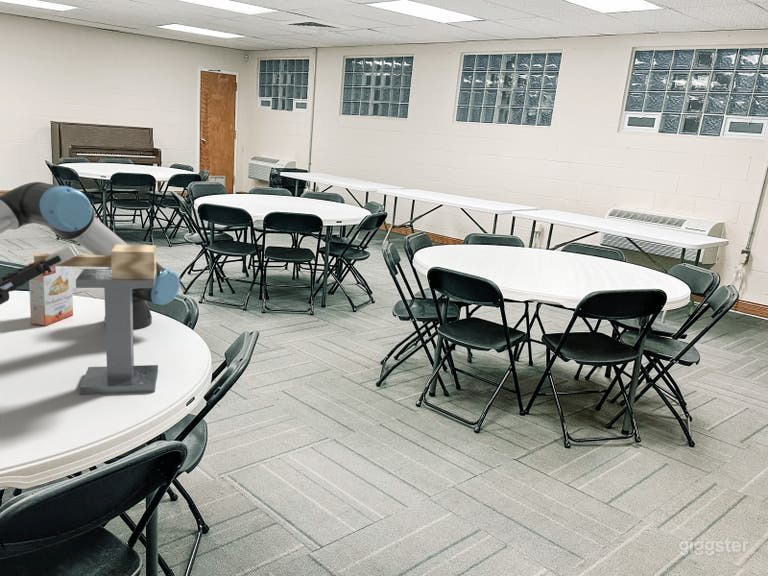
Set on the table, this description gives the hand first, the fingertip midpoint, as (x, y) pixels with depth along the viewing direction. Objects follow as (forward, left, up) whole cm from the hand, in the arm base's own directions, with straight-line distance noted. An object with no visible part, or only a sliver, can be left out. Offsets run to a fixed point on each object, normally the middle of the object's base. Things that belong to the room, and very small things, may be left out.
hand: (73, 249), depth 158 cm
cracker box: (-19, -56, -36) cm, 70 cm away
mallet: (-4, +3, -6) cm, 8 cm away
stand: (-8, +6, -36) cm, 38 cm away
